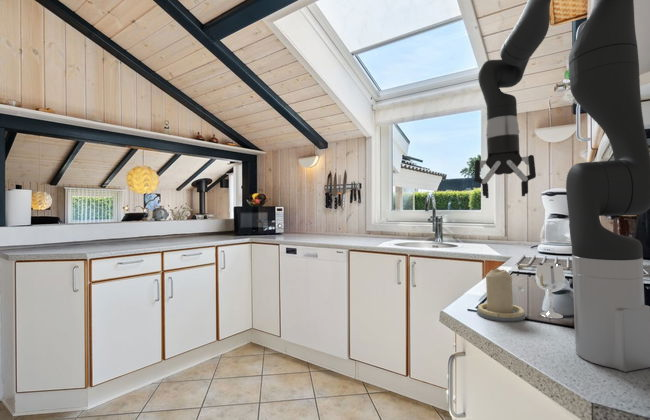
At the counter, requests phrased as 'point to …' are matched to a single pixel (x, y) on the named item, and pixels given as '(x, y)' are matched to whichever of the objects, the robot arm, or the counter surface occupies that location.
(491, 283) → the candle
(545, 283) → the wineglass
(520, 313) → the beige ring
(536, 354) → the counter surface
